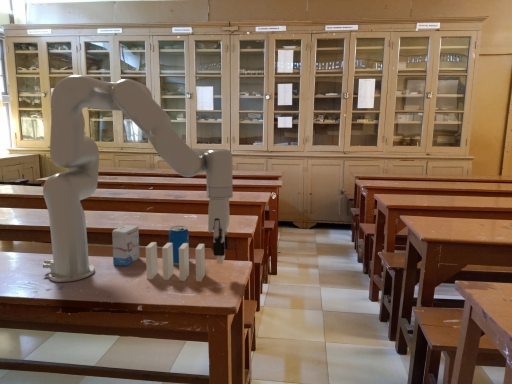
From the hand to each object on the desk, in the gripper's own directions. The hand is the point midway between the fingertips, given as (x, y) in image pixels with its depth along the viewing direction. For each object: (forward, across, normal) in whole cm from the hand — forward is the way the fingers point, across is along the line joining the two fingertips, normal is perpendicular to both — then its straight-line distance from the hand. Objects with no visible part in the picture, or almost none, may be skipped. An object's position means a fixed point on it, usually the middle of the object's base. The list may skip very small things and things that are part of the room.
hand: (220, 251), depth 104 cm
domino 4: (+9, 0, -6) cm, 11 cm away
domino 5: (+3, 0, 0) cm, 3 cm away
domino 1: (+8, 0, -21) cm, 23 cm away
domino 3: (+9, 0, -11) cm, 14 cm away
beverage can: (+9, -12, -16) cm, 22 cm away
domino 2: (+9, 0, -16) cm, 18 cm away
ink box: (+9, -11, -34) cm, 37 cm away
